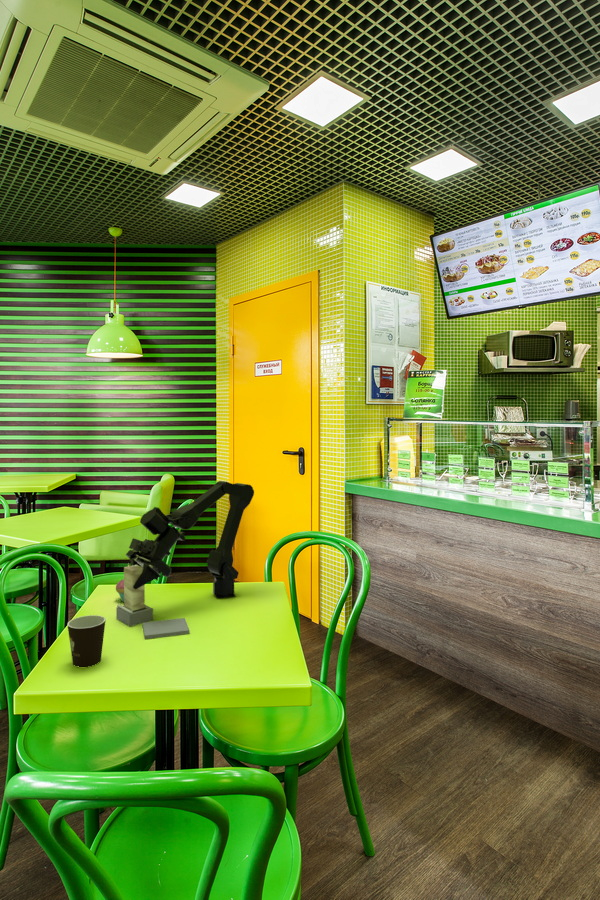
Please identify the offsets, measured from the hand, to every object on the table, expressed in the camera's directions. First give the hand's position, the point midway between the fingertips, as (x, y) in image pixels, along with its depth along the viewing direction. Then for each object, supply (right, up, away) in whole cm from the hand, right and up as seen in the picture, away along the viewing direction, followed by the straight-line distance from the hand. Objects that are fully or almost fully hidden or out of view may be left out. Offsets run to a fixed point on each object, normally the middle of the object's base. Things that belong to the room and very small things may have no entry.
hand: (129, 586), depth 154 cm
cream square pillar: (+1, -7, +1) cm, 7 cm away
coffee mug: (-2, -12, -25) cm, 28 cm away
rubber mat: (+12, -11, -6) cm, 17 cm away
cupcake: (-6, -10, +19) cm, 22 cm away
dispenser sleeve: (+1, -10, +1) cm, 10 cm away
